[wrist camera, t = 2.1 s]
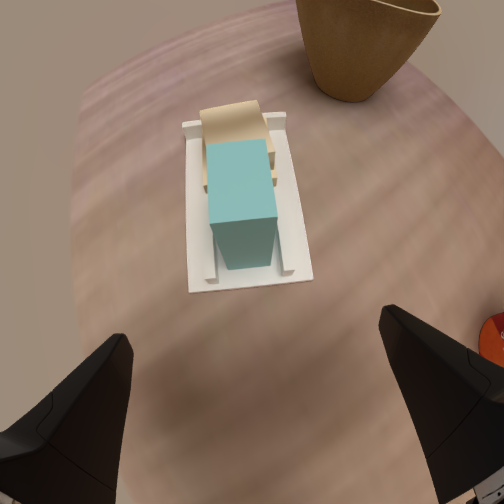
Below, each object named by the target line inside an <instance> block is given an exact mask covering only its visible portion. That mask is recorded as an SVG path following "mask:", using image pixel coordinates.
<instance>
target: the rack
mask: <svg viewBox="0 0 504 504" xmlns="http://www.w3.org/2000/svg"><path fill="white" fill-rule="evenodd" d="M262 115H263V117H265V116H266V118H267V124H268V129H269V134H270V137H271V140H272V143H273V146H274V149H275V167H276V173H277V185H276V186H275V187H274V194H275V200H276V207H277V213H278V220H277V227H276V233H275V240H274V246H273V253H272V259H271V265H270V266H264V267H254V268H245V269H235V270H228V269H227V267H226V264H225V262H224V259H223V257H222V254H221V252H220V249H219V247H218V244H217V242H216V240H215V237H214V235H213V232H212V230H211V227H210V225H209V210H208V194H206V193H205V190H204V187H203V167H202V123H201V120H195V121H189V122H183V124H182V128H183V131H184V134H185V137H186V240H187V267H188V287H189V293H190V294H192V293H204V292H214V291H225V290H235V289H245V288H255V287H264V286H273V285H282V284H290V283H299V282H307V281H313V273H312V266H311V260H310V254H309V248H308V242H307V236H306V231H305V225H304V219H303V214H302V209H301V203H300V198H299V193H298V188H297V183H296V178H295V173H294V168H293V164H292V159H291V154H290V150H289V145H288V141H287V136H286V132H285V125H286V113H285V112H271V113H262Z"/></svg>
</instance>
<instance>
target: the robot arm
mask: <svg viewBox="0 0 504 504" xmlns="http://www.w3.org/2000/svg"><path fill="white" fill-rule="evenodd" d="M379 331H380V334H381V337H382V340H383V344H384V347H385V350H386V353H387V357H388V360H389V363H390V366H391V368H392V371H393V373H394V375H395V378H396V380H397V383H398V385H399V388H400V390H401V393H402V395H403V398H404V400H405V403H406V405H407V408H408V410H409V413H410V416H411V418H412V421H413V424H414V426H415V429H416V432H417V435H418V438H419V440H420V443H421V446H422V449H423V452H424V455H425V458H426V459H427V460H426V462H427V465H428V468H429V471H430V474H431V477H432V481H433V484H434V488H435V491H436V495H437V498H438V502H439V504H446V503H448V502H450V501H451V500H453V499H455V498H457V497H459V496H460V495H462V494H464V493H465V492H467V491H469V490H470V489H472V488H473V490H474V492H475V495H476V496H475V497H474V498H472V499H470V500H469V501H467V502H466V504H504V367H502V366H500V365H498V364H496V363H494V362H492V361H490V360H488V359H486V358H484V357H482V356H481V355H479V354H477V353H476V352H474V351H472V350H471V349H469V348H466V346H464V345H462V344H461V343H459V342H457V341H456V340H454V339H452V338H451V337H449V336H447V335H446V334H444V333H442V332H441V331H439V330H437V329H436V328H434V327H432V326H430V325H429V324H427V323H425V322H424V321H422V320H420V319H419V318H417V317H415V316H413V315H412V314H410V313H408V312H407V311H405V310H403V309H401V308H400V307H398V306H396V305H394V304H391V305H386V306H384V307H383V308H382V311H381V316H380V320H379ZM133 357H134V353H133V349H132V347H131V345H130V343H129V341H128V339H127V336H126V335H125V334H123V333H115V334H113V335H112V336H111V337H109V338H108V339H107V340H106V341H105V342H104V343H103V344H102V345H101V346H99V347H98V348H97V349H96V350H95V351H94V352H93V353H92V354H91V355H90V356H89V357H87V358H86V359H85V360H84V361H83V362H82V363H81V364H80V365H79V366H78V367H77V368H76V369H74V370H73V371H72V372H71V373H70V374H69V375H68V376H67V377H66V378H65V379H64V380H63V381H62V382H61V383H59V384H58V385H57V386H56V387H55V388H54V389H53V391H52V392H50V393H49V394H48V395H47V396H46V397H45V398H44V399H42V400H41V401H40V402H39V403H38V404H37V405H36V406H35V407H34V408H32V409H31V410H30V411H29V412H28V413H26V414H25V415H24V416H23V417H21V418H20V419H19V420H18V421H16V422H15V423H14V424H13V425H11V426H10V427H9V428H8V429H6V430H5V431H3V432H0V504H115V502H116V488H117V478H118V469H119V461H120V453H121V445H122V439H123V432H124V426H125V419H126V414H127V408H128V402H129V397H130V390H131V378H132V367H133Z"/></svg>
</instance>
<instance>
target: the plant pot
mask: <svg viewBox="0 0 504 504" xmlns="http://www.w3.org/2000/svg"><path fill="white" fill-rule="evenodd" d="M296 5H297V11H298V17H299V22H300V27H301V32H302V36H303V41H304V45H305V49H306V53H307V56H308V60H309V63H310V66H311V70H312V73H313V76H314V79H315V82H316V84H317V85H318V87H319V88H320V89H321V90H322V91H323V92H325V93H326V94H328V95H330V96H331V97H334V98H336V99H339V100H343V101H348V102H359V101H363V100H365V99H367V98H368V97H369V96H371V95H372V94H373V93H374V92H375V91H377V90H378V89H379V88H380V87H381V86H382V85H383V84H385V83H386V82H387V81H388V80H389V79H390V78H391V77H392V76H393V75H394V74H395V73H396V72H397V71H398V70H399V69H400V67H401V66H402V65H403V64H404V63H405V62H406V61H407V60H408V58H409V57H410V56H411V55H412V54H413V52H414V51H415V50H416V48H417V47H418V46H419V45H420V43H421V42H422V41H423V39H424V38H425V37H426V35H427V34H428V32H429V31H430V29H431V28H432V26H433V25H434V24H435V22H436V20H437V19H438V17H439V16H440V14H441V13H442V10H441V8H440V6H439V5H438V3H437V2H436V1H435V0H296Z"/></svg>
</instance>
